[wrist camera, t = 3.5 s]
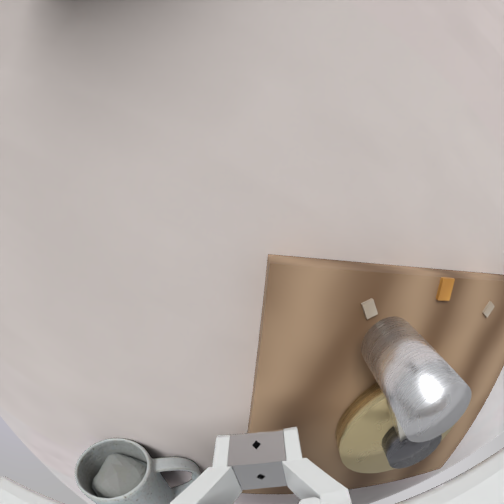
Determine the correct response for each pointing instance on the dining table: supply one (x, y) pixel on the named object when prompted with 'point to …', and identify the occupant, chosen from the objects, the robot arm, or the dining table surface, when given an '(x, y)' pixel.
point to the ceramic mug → (128, 474)
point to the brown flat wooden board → (349, 348)
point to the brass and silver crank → (400, 401)
